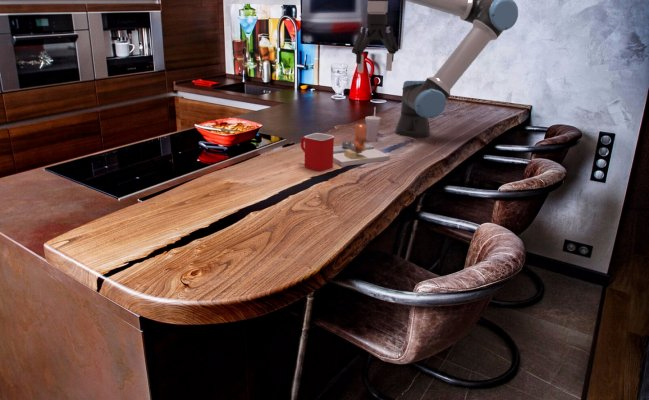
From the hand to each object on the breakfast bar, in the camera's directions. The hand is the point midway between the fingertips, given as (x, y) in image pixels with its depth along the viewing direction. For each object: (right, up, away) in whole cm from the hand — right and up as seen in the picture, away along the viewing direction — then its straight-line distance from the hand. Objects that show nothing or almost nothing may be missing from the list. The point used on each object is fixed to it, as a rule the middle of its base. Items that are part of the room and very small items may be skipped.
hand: (374, 71), depth 192 cm
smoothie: (0, -26, +12) cm, 28 cm away
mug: (-23, -39, -22) cm, 50 cm away
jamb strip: (-11, -33, -7) cm, 35 cm away
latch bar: (-9, -32, -13) cm, 36 cm away
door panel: (-7, -35, -14) cm, 39 cm away
